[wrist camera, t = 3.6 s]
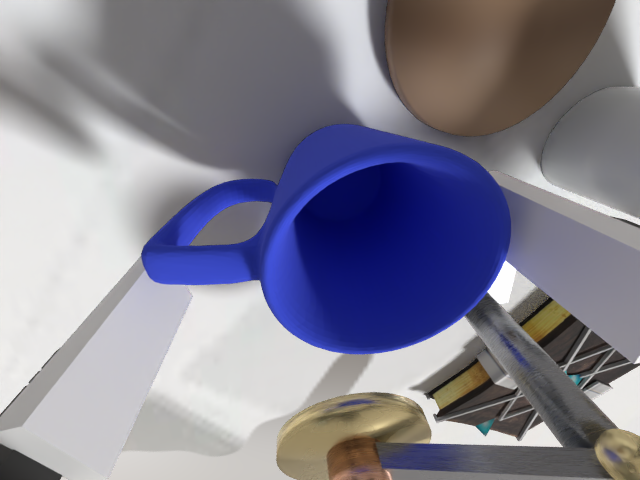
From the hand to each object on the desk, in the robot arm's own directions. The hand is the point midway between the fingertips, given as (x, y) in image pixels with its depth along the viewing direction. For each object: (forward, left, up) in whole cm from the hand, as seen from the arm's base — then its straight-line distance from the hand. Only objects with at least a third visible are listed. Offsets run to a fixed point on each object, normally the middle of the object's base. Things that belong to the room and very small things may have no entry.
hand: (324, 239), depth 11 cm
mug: (0, 0, -7) cm, 7 cm away
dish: (-6, +11, -7) cm, 14 cm away
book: (+28, +21, -8) cm, 35 cm away
